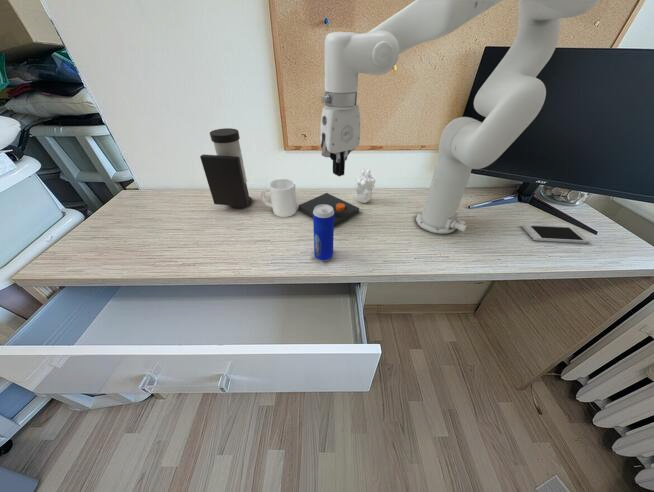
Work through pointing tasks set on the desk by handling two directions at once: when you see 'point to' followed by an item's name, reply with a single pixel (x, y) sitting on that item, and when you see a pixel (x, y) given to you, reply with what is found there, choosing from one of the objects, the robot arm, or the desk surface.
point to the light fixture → (226, 170)
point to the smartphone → (555, 234)
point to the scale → (332, 201)
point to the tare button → (340, 207)
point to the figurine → (364, 186)
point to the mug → (281, 197)
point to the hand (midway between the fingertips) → (338, 174)
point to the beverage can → (323, 231)
